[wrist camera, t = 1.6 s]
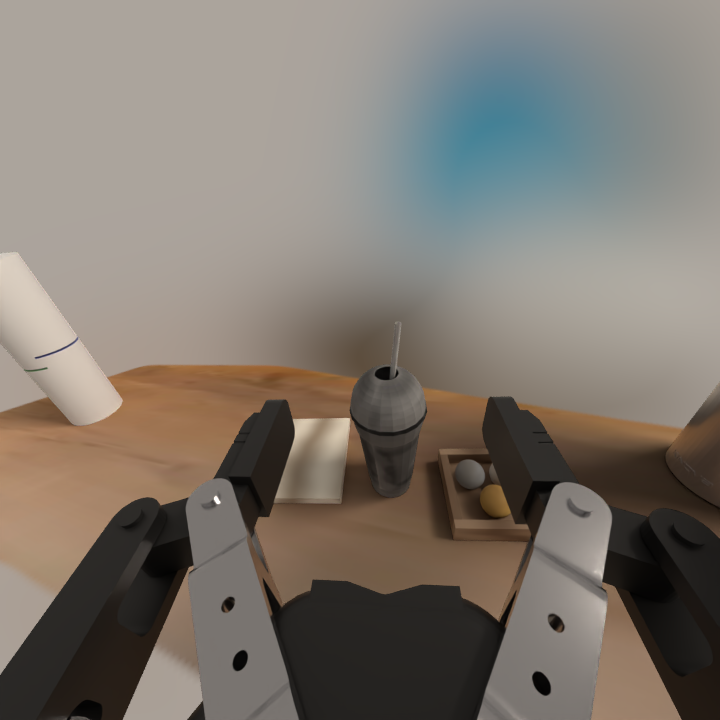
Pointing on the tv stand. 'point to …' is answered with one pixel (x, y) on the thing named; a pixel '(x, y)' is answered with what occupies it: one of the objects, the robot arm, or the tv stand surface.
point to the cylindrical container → (50, 347)
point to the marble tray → (476, 498)
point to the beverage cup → (389, 422)
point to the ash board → (316, 462)
